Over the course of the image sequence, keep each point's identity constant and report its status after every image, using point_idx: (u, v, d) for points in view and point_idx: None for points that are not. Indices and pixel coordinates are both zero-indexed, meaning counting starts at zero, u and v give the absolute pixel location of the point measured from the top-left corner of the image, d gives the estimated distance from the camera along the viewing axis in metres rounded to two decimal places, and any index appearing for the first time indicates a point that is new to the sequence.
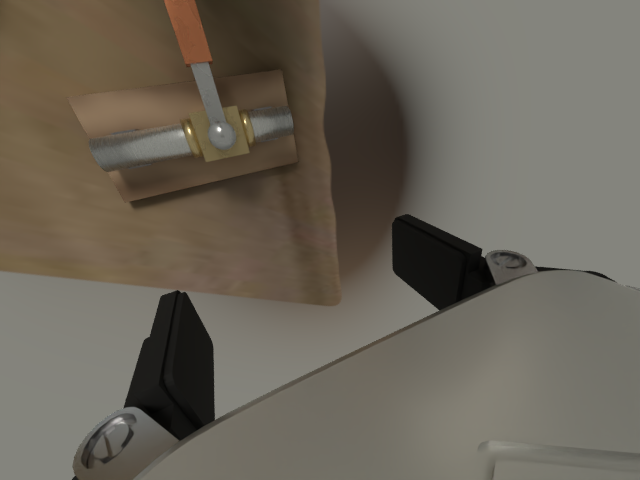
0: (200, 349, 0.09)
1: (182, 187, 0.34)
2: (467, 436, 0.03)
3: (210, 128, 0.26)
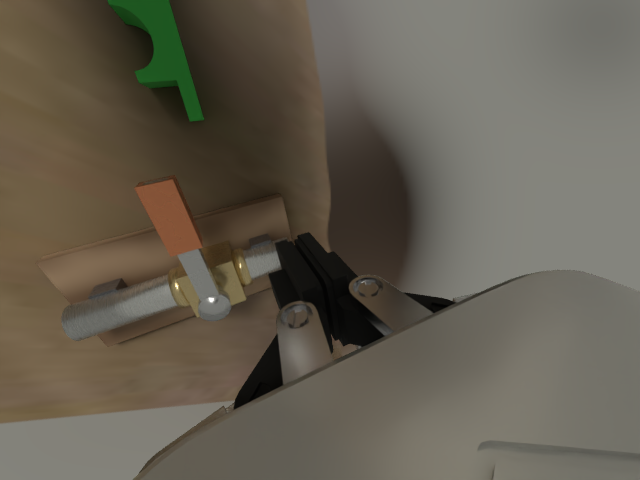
0: None
1: (172, 322, 0.31)
2: (467, 436, 0.03)
3: (201, 305, 0.22)
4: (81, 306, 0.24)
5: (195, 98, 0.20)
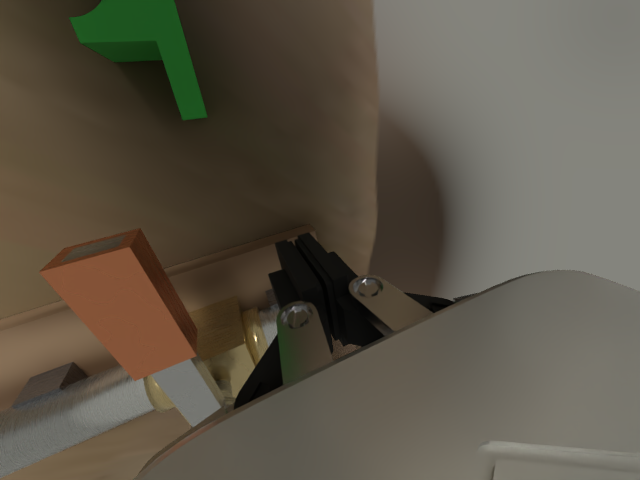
0: None
1: None
2: (467, 436, 0.03)
3: None
4: None
5: (192, 77, 0.11)
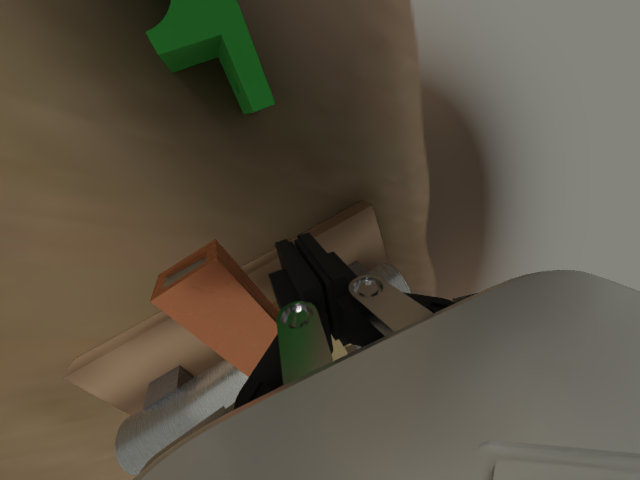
0: None
1: None
2: (467, 436, 0.03)
3: None
4: (138, 427, 0.16)
5: (257, 65, 0.11)
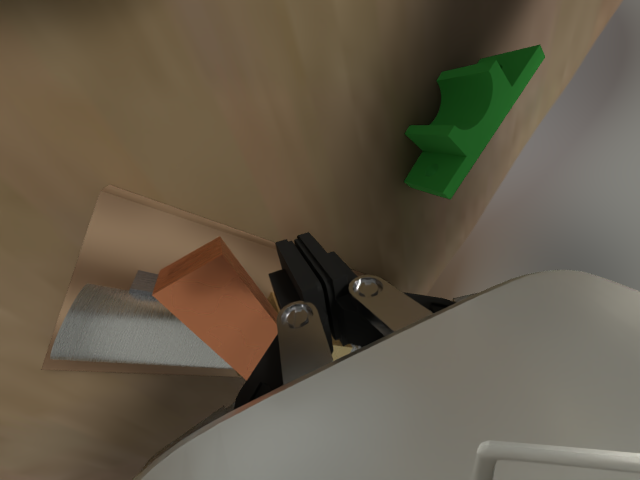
0: None
1: (171, 372, 0.19)
2: (467, 436, 0.03)
3: None
4: (115, 301, 0.12)
5: (461, 179, 0.19)
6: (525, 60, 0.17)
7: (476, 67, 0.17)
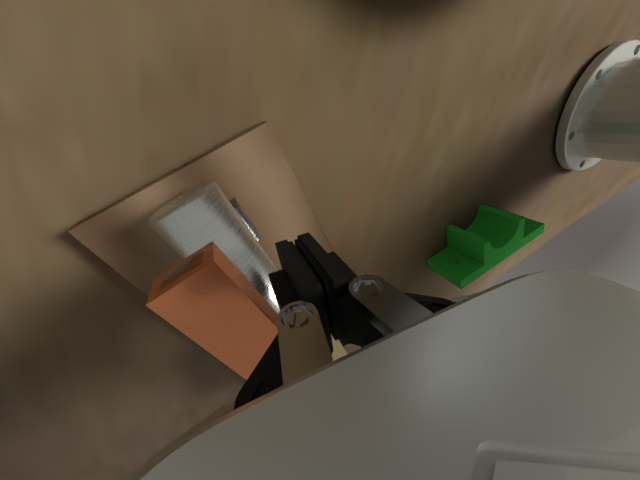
0: None
1: None
2: (467, 436, 0.03)
3: None
4: (232, 209, 0.13)
5: (473, 279, 0.25)
6: (534, 227, 0.26)
7: (510, 214, 0.25)
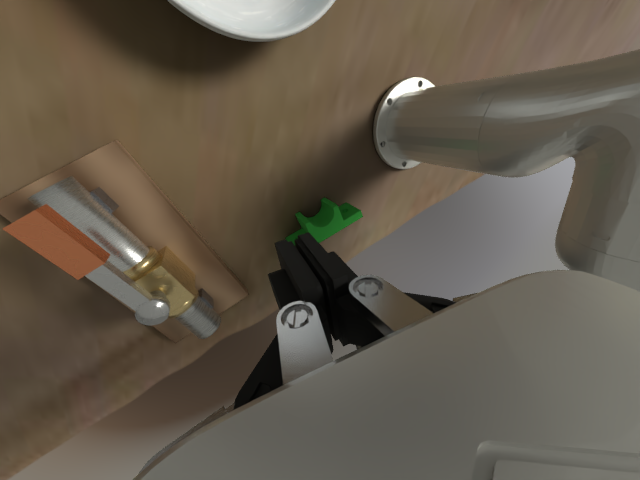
0: None
1: None
2: (467, 436, 0.03)
3: (136, 314, 0.24)
4: (82, 191, 0.23)
5: None
6: (353, 213, 0.36)
7: (332, 203, 0.35)
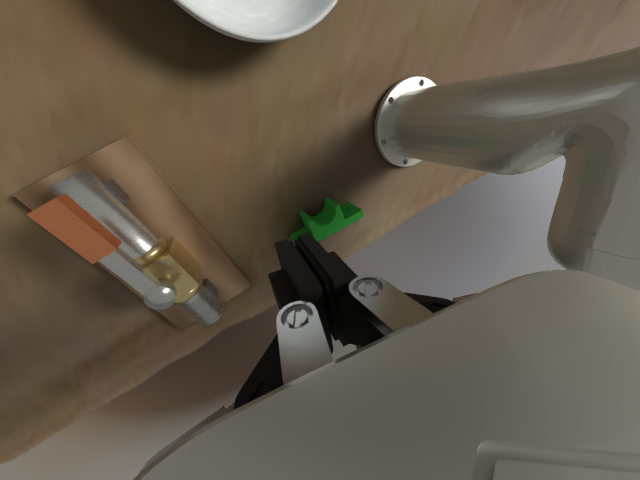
0: None
1: None
2: (467, 436, 0.03)
3: (145, 298, 0.25)
4: (97, 183, 0.24)
5: None
6: (355, 212, 0.38)
7: (334, 203, 0.37)
